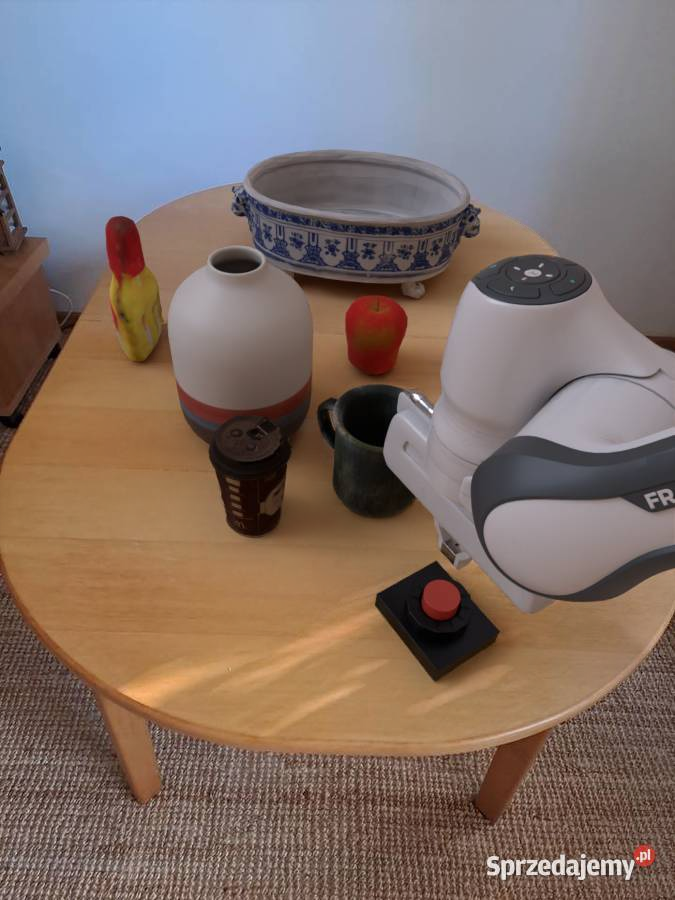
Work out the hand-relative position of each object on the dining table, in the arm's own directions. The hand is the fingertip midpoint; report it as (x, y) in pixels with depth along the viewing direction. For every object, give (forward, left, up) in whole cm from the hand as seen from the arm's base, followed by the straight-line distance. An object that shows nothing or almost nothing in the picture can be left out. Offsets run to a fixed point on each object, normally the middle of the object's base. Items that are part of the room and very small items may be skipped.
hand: (453, 556), depth 62 cm
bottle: (+59, +8, -11) cm, 61 cm away
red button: (0, +1, -7) cm, 7 cm away
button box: (0, +1, -11) cm, 11 cm away
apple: (+38, -18, -11) cm, 43 cm away
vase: (+37, +3, -11) cm, 38 cm away
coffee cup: (+22, +10, -11) cm, 26 cm away
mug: (+20, -4, -11) cm, 23 cm away
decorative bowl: (+64, -32, -11) cm, 72 cm away
